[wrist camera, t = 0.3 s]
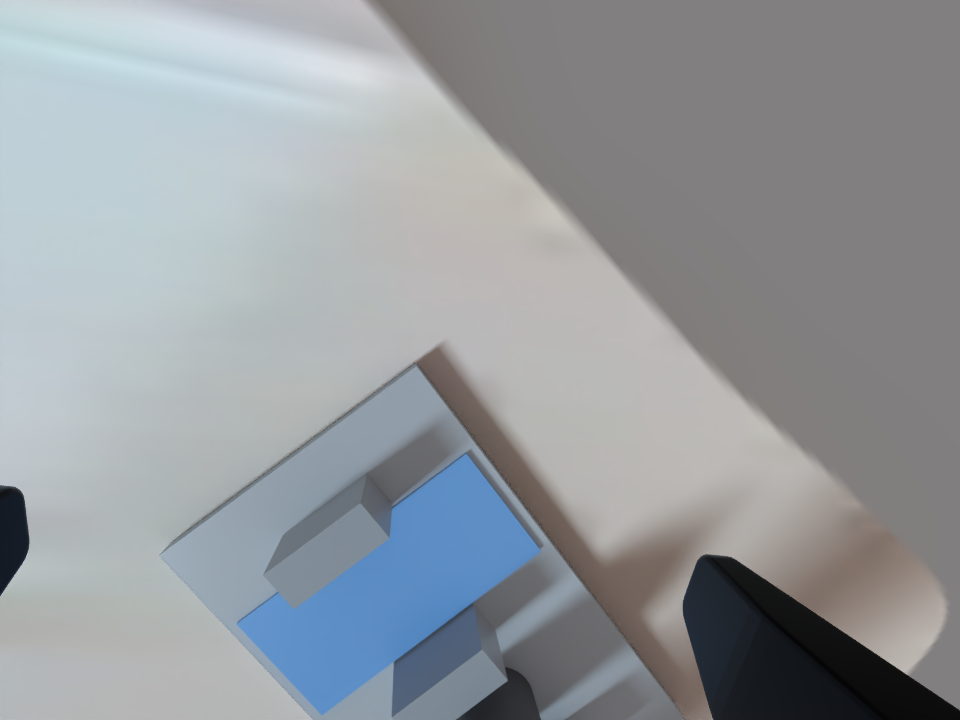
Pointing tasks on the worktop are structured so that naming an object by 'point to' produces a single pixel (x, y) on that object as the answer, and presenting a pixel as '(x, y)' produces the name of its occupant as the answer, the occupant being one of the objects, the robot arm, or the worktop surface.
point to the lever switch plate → (407, 578)
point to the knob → (506, 702)
